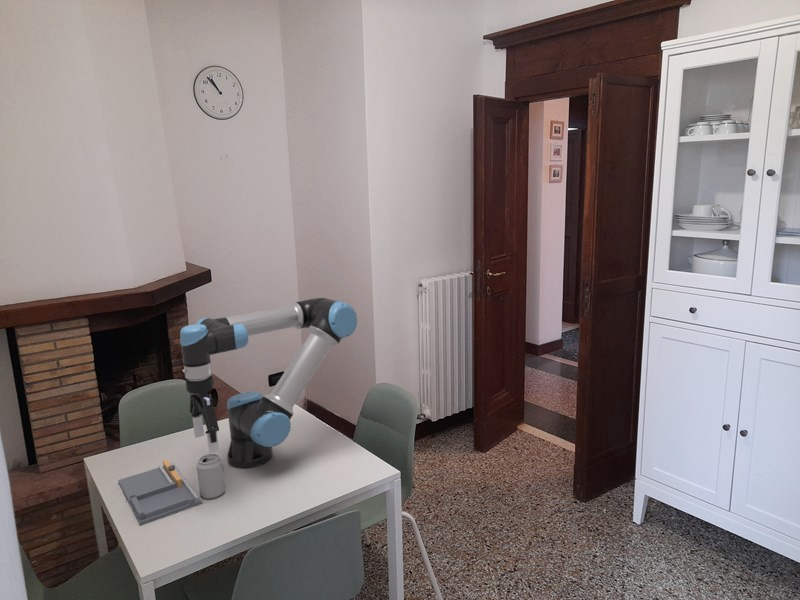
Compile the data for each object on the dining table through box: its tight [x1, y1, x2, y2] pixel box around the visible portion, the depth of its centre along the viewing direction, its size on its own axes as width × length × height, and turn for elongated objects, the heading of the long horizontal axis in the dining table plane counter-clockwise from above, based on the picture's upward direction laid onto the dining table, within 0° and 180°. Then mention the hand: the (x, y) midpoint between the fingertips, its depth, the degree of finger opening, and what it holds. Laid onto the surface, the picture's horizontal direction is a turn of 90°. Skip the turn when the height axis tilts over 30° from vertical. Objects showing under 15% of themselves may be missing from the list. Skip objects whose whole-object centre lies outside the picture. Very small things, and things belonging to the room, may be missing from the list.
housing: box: [118, 461, 203, 527], centre depth 177 cm, size 30×17×2 cm, turn 36°
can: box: [196, 453, 226, 500], centre depth 175 cm, size 8×8×12 cm
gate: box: [162, 459, 182, 487], centre depth 185 cm, size 17×2×3 cm, turn 36°
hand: (206, 443), depth 172 cm, fingers open, 13 cm apart
